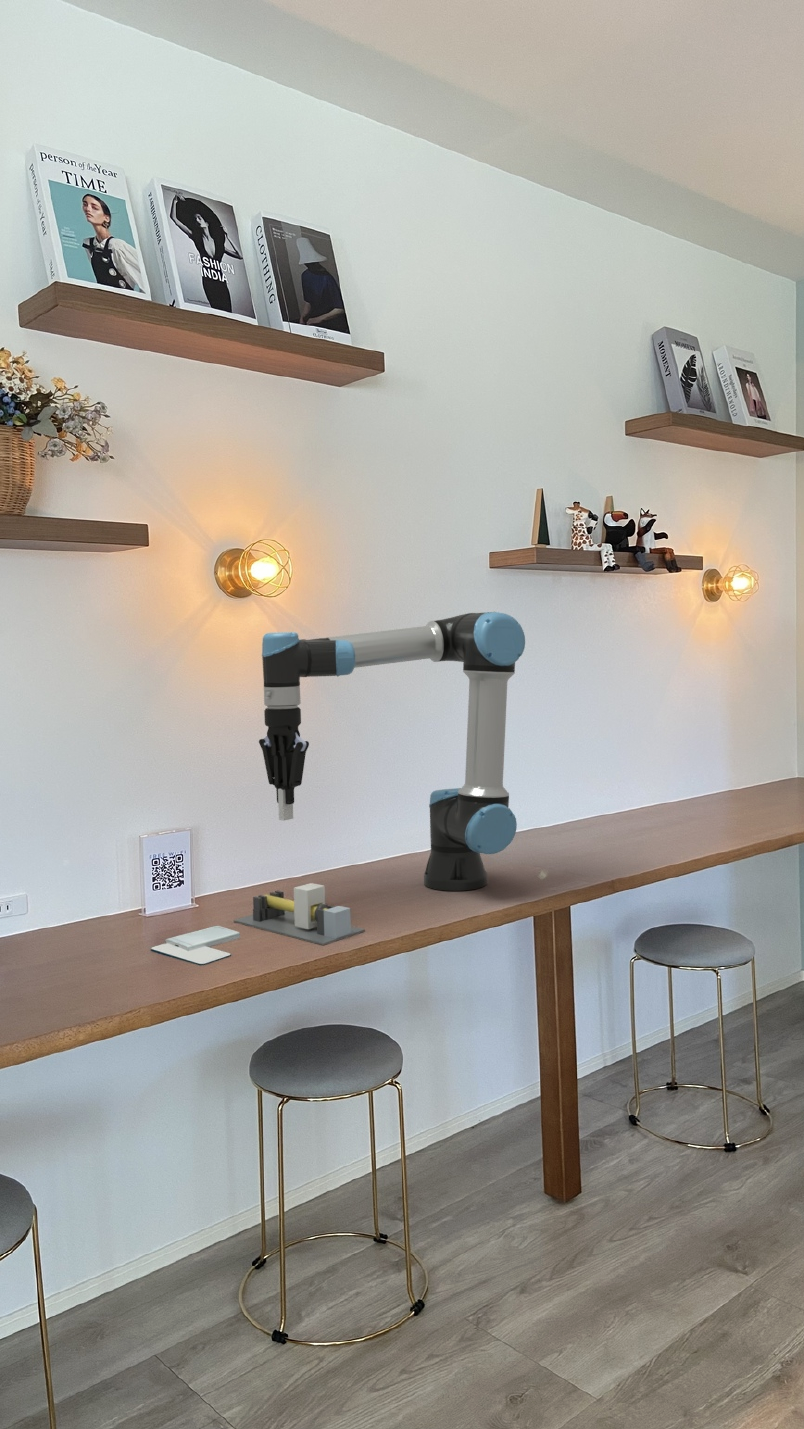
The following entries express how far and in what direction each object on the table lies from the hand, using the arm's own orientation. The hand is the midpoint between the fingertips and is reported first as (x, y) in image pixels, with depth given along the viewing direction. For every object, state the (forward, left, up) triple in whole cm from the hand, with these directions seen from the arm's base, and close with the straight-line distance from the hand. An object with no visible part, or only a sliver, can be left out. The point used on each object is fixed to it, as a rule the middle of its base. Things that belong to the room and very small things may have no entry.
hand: (286, 819), depth 222 cm
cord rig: (+1, +3, -22) cm, 23 cm away
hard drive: (+19, -5, -23) cm, 30 cm away
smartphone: (+25, -1, -23) cm, 34 cm away
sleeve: (+1, +7, -21) cm, 22 cm away
